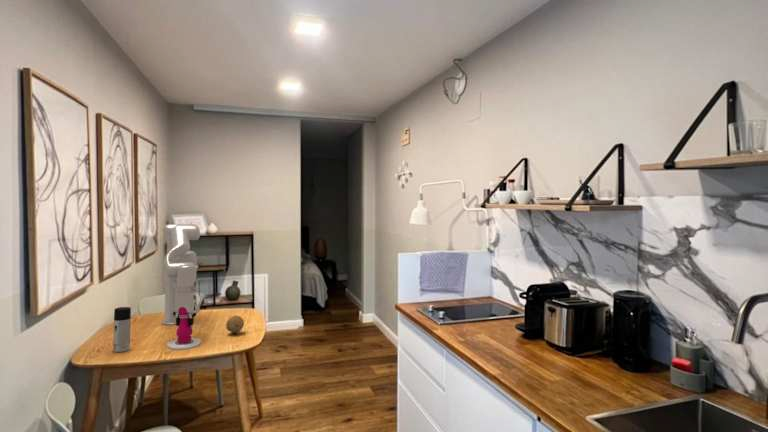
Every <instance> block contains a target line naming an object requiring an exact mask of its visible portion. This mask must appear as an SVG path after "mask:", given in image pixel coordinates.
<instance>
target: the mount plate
mask: <svg viewBox="0 0 768 432" xmlns="http://www.w3.org/2000/svg"><path fill="white" fill-rule="evenodd" d="M177 340H178V338H176V339H173V340H171V341H168V342H167V348H168V349H169V350H174V351H180V350H181V351H183V350H190V349H193V348H197V347H198V346H201V344H202V340H201V339H200V338H198V337H191V341H190V342H186V343H179V342H177Z"/></svg>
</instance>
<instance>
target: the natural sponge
mask: <svg viewBox="0 0 768 432" xmlns="http://www.w3.org/2000/svg"><path fill="white" fill-rule="evenodd" d="M244 325H245V321H244V319H243V317H241V316H240V315H234V316H231V317H229V318H228V319H227V322H226V325H225V326H226V330H227V331H228V332H230V333H232V334H233V333H237V334H239V333H240V332H241V331H242V329H243V327H244Z"/></svg>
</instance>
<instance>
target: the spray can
mask: <svg viewBox="0 0 768 432" xmlns="http://www.w3.org/2000/svg"><path fill="white" fill-rule="evenodd" d="M131 309H132V307H130V306H122V307H121V306H120V307H116V308H114V312H113V337H112V338H113V342H112V343H113V344H112V345H113V346H112V347H113V348H112V351H113V353H124V352H127V351H129V350H130V347H131V346H130V345H131V315H132V314H131V313H132V312H131Z"/></svg>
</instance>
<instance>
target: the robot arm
mask: <svg viewBox="0 0 768 432" xmlns="http://www.w3.org/2000/svg"><path fill="white" fill-rule="evenodd" d="M162 233H163V237H164V239H165V242H166V255H165V257H164V260H163V269H164V273H163V276H162V277H163V282H164V283H163V284H164V318H163V319H162V320H161V324H162V325H165V326H166V325H167V326H169V325H170V326H172V325H176V327H178V326H179V324H180V318H179V314H180V313H179V312H178V309H179V308H180V307H184V308H186V310H187V313H189V316H190V317H189V326H191V327H192V326H193V325H194V321H195V317H196V316H197V315H198V314H199V313H200V312H201V309H200V308H199V307H198V299H197V293H196V290H197V287H195V283H196V281H197V264H198V263H197V262H198V261H197V260H198V259H197V254H196V252H195V251H193V250H190V249H191V245H190V244H191V243H190V241H197V240H199V238H200V236H201V230H200V228H199V226H198V225H197V224H195V223H168V224H165V225H164V226H163V228H162ZM194 311H195V312H194Z"/></svg>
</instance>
